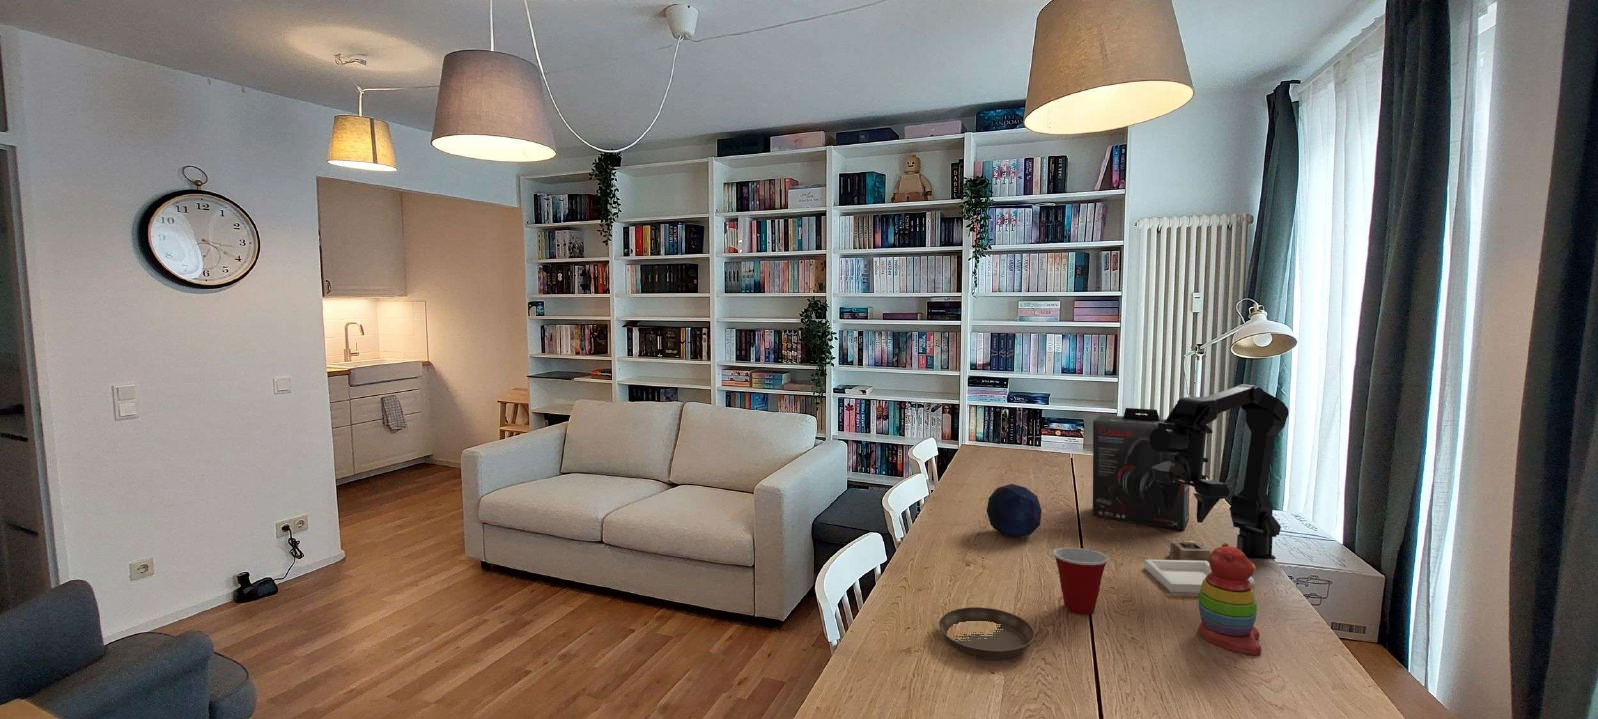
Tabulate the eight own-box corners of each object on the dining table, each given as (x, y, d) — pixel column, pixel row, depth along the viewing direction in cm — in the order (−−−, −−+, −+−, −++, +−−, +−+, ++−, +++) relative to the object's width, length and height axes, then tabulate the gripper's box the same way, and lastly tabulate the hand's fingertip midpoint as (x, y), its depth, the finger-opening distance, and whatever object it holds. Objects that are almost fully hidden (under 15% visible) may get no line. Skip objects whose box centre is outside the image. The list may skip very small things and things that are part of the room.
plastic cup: (1104, 600, 143) (1105, 546, 142) (1110, 623, 133) (1111, 565, 132) (1051, 594, 146) (1051, 541, 145) (1052, 616, 136) (1053, 559, 135)
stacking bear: (1262, 658, 119) (1266, 562, 117) (1196, 643, 124) (1199, 551, 123) (1258, 632, 128) (1262, 543, 127) (1197, 620, 133) (1200, 534, 132)
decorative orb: (1058, 515, 184) (1025, 469, 188) (1046, 530, 171) (1011, 481, 175) (1016, 538, 191) (985, 493, 195) (1002, 555, 178) (969, 506, 182)
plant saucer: (931, 619, 136) (931, 605, 136) (1018, 619, 135) (1018, 605, 135) (948, 666, 118) (948, 650, 118) (1048, 666, 118) (1048, 650, 117)
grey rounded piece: (1198, 555, 167) (1199, 536, 167) (1215, 567, 159) (1215, 547, 159) (1165, 554, 168) (1165, 535, 168) (1180, 566, 160) (1180, 547, 160)
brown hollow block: (1196, 554, 166) (1197, 541, 166) (1209, 564, 160) (1210, 550, 160) (1165, 554, 167) (1165, 540, 167) (1176, 564, 161) (1177, 550, 161)
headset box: (1089, 516, 199) (1092, 407, 196) (1099, 506, 209) (1101, 402, 206) (1184, 532, 184) (1187, 414, 181) (1189, 520, 194) (1192, 408, 191)
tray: (1206, 570, 158) (1206, 560, 157) (1239, 596, 144) (1239, 585, 144) (1144, 569, 159) (1145, 559, 159) (1171, 594, 145) (1171, 583, 145)
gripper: (1132, 443, 163) (1127, 505, 164) (1191, 459, 145) (1185, 528, 146) (1171, 444, 166) (1166, 505, 167) (1234, 460, 148) (1227, 528, 148)
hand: (1184, 516), depth 157 cm, fingers open, 9 cm apart
